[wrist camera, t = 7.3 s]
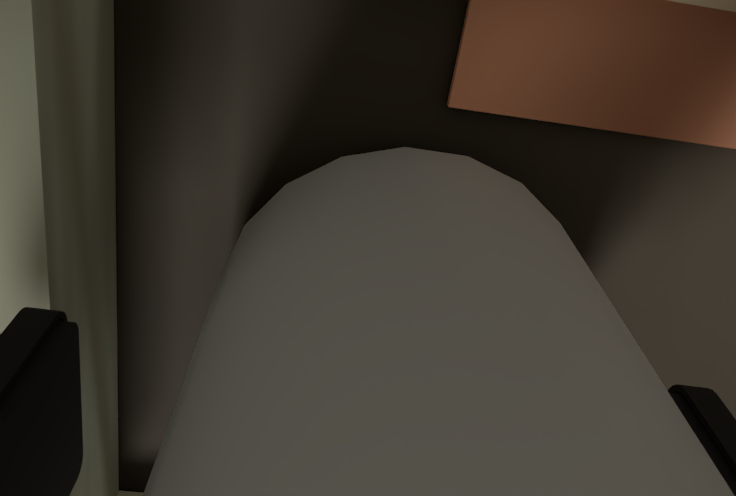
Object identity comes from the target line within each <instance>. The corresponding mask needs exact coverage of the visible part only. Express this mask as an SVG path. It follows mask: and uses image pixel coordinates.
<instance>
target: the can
mask: <svg viewBox="0 0 736 496" xmlns="http://www.w3.org/2000/svg"><path fill="white" fill-rule="evenodd" d="M143 496H734V494H733V493H732V491H731V490H730V488H729V486H728V485H727V483H726V482H725V480H724V479H723V477H722V475H721V474H720V472H719V471H718V469H717V468H716V466H715V465H714V463H713V461H712V460H711V458H710V457H709V455H708V454H707V452H706V450H705V449H704V447H703V446H702V444H701V443H700V441H699V439H698V438H697V436H696V435H695V433H694V432H693V430H692V429H691V427H690V425H689V424H688V422H687V421H686V419H685V418H684V416H683V414H682V413H681V411H680V410H679V408H678V407H677V405H676V404H675V402H674V400H673V399H672V397H671V396H670V394H669V393H668V391H667V389H666V388H665V386H664V385H663V383H662V382H661V380H660V378H659V377H658V375H657V374H656V372H655V371H654V369H653V368H652V366H651V364H650V363H649V361H648V360H647V358H646V357H645V355H644V353H643V352H642V350H641V349H640V347H639V346H638V344H637V342H636V341H635V339H634V338H633V336H632V335H631V333H630V332H629V330H628V328H627V327H626V325H625V324H624V322H623V321H622V319H621V317H620V316H619V314H618V313H617V311H616V310H615V308H614V307H613V305H612V303H611V302H610V300H609V299H608V297H607V296H606V294H605V292H604V291H603V289H602V288H601V286H600V285H599V283H598V281H597V280H596V278H595V277H594V275H593V274H592V272H591V271H590V269H589V267H588V266H587V264H586V263H585V261H584V260H583V258H582V256H581V255H580V253H579V252H578V250H577V249H576V247H575V245H574V244H573V242H572V241H571V239H570V238H569V236H568V235H567V233H566V231H565V230H564V228H563V227H562V225H561V224H560V222H559V221H558V220H557V219H556V218H555V217H554V216H553V215H552V214H551V213H550V212H549V211H548V210H547V209H546V208H545V207H544V206H543V205H542V204H541V203H540V202H539V201H538V199H537V198H536V197H535V196H534V195H533V194H532V193H531V192H530V191H529V190H528V189H527V188H526V187H525V186H524V185H523V184H522V183H521V182H519V181H517V180H515V179H513V178H511V177H509V176H507V175H505V174H503V173H501V172H499V171H497V170H495V169H493V168H491V167H489V166H487V165H485V164H483V163H481V162H479V161H477V160H475V159H473V158H471V157H469V156H463V155H456V154H450V153H443V152H436V151H429V150H423V149H416V148H409V147H401V148H395V149H388V150H382V151H375V152H369V153H363V154H356V155H350V156H343V157H340V158H338V159H336V160H334V161H332V162H330V163H328V164H326V165H324V166H322V167H320V168H318V169H316V170H314V171H312V172H310V173H308V174H306V175H304V176H302V177H300V178H298V179H295V180H293V181H291V182H289V183H287V184H286V185H285V186H284V187H283V188H282V189H281V190H280V191H279V192H278V193H276V194H275V195H274V196H273V197H272V198H271V199H270V200H269V201H268V202H267V203H266V204H265V205H264V206H263V207H262V208H261V209H260V210H259V211H258V212H257V213H256V214H255V215H254V216H253V217H252V218H251V219H250V220H249V221H248V222H247V223H246V224H245V225H244V227H243V230H242V232H241V234H240V236H239V238H238V240H237V242H236V244H235V246H234V248H233V251H232V253H231V255H230V257H229V259H228V261H227V263H226V265H225V267H224V270H223V272H222V274H221V277H220V280H219V282H218V285H217V288H216V291H215V294H214V297H213V299H212V302H211V305H210V308H209V311H208V313H207V316H206V319H205V322H204V325H203V328H202V330H201V333H200V336H199V339H198V342H197V344H196V347H195V350H194V353H193V356H192V358H191V361H190V364H189V367H188V370H187V373H186V375H185V378H184V381H183V384H182V387H181V389H180V392H179V395H178V398H177V401H176V404H175V406H174V409H173V412H172V415H171V418H170V420H169V423H168V426H167V429H166V432H165V435H164V437H163V440H162V443H161V446H160V449H159V451H158V454H157V457H156V460H155V463H154V465H153V468H152V471H151V474H150V477H149V480H148V482H147V485H146V488H145V491H144V494H143Z"/></svg>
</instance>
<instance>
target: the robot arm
mask: <svg viewBox="0 0 736 496" xmlns="http://www.w3.org/2000/svg"><path fill="white" fill-rule="evenodd" d="M668 393H669V394H670V396H671V397H672V399H673V400H674V402H675V404H676V405H677V407H678V408H679V410H680V411H681V413H682V414H683V416H684V418H685V419H686V421H687V422H688V424H689V425H690V427H691V429H692V430H693V432H694V433H695V435H696V436H697V438H698V439H699V441H700V443H701V444H702V446H703V447H704V449H705V450H706V452H707V454H708V455H709V457H710V458H711V460H712V461H713V463H714V465H715V466H716V468H717V469H718V471H719V472H720V474H721V475H722V477H723V479H724V480H725V482H726V483H727V485H728V486H729V488H730V490H731V491H732V493H733V494H734V496H736V420H735V418H734V417H733V416H732V414H731V413H730V411H729V410H728V409H727V407H726V406H725V405H724V403H723V402H722V401H721V399H720V398H719V397H718V395H717V394H716V393H715V392H714V391H713V390H711V389H709V388H702V387H693V386H685V385H673V386H672V387H671V388H669V390H668ZM82 461H83V432H82V404H81V377H80V349H79V328H78V325H77V323H76V322H69V321H68V320H67V316H66V313H65V312H63V311H57V310H49V309H40V308H32V307H24V308H22V309H21V310H20V311H19V312H18V314H17V315H16V316H15V317H14V319H13V320H12V321H11V322H10V323H9V325H8V326H7V327H6V328H5V330H4V331H3V332H2V333H1V334H0V496H70V494H71V491H72V489H73V487H74V485H75V483H76V481H77V479H78V476H79V474H80V470H81V466H82Z"/></svg>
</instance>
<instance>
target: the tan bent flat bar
mask: <svg viewBox="0 0 736 496" xmlns="http://www.w3.org/2000/svg"><path fill="white" fill-rule="evenodd" d="M447 105H448V107H452V108H459V109H465V110H472V111H479V112H486V113H493V114H500V115H506V116H513V117H520V118H527V119H534V120H541V121H547V122H554V123H561V124H568V125H575V126H582V127H588V128H595V129H602V130H609V131H616V132H623V133H629V134H636V135H643V136H650V137H657V138H664V139H670V140H677V141H684V142H691V143H698V144H705V145H711V146H718V147H725V148H732V149H736V0H469V1H468V6H467V11H466V16H465V20H464V25H463V30H462V35H461V39H460V44H459V49H458V54H457V59H456V63H455V68H454V73H453V78H452V83H451V87H450V92H449V97H448V102H447ZM24 307H32V308H40V309H49V310H57V311H63V312H65V313H66V316H67V320H68V321H69V322H76V323H77V325H78V328H79V349H80V377H81V404H82V432H83V461H82V466H81V470H80V474H79V476H78V479H77V481H76V483H75V485H74V487H73V489H72V491H71V494H70V496H143V494H144V493H142V492H130V491H119V466H118V369H117V272H116V176H115V79H114V0H0V333H2V332H3V331H4V330H5V328H6V327H7V326H8V325H9V323H10V322H11V321H12V320H13V319H14V317H15V316H16V315H17V314H18V312H19V311H20V310H21V309H22V308H24Z"/></svg>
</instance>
